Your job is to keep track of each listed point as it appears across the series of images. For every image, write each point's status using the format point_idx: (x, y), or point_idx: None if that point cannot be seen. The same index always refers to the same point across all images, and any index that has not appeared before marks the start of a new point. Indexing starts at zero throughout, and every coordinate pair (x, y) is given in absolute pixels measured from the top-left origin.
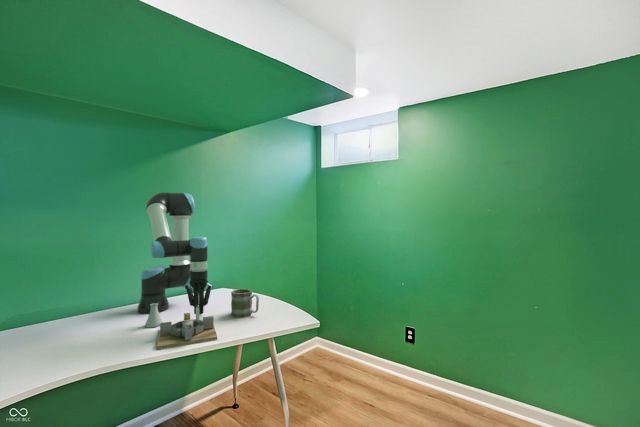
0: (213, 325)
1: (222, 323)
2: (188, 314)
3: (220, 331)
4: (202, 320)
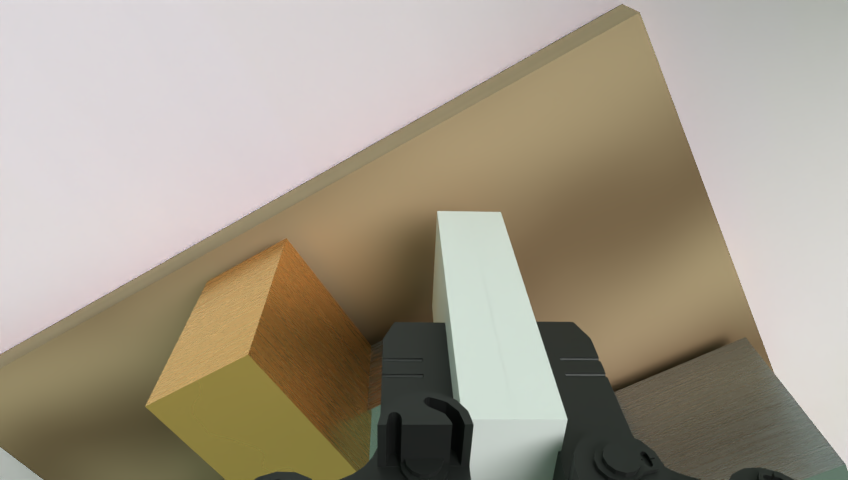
0: (736, 281)
1: (841, 43)
2: (294, 446)
3: (834, 346)
4: None
